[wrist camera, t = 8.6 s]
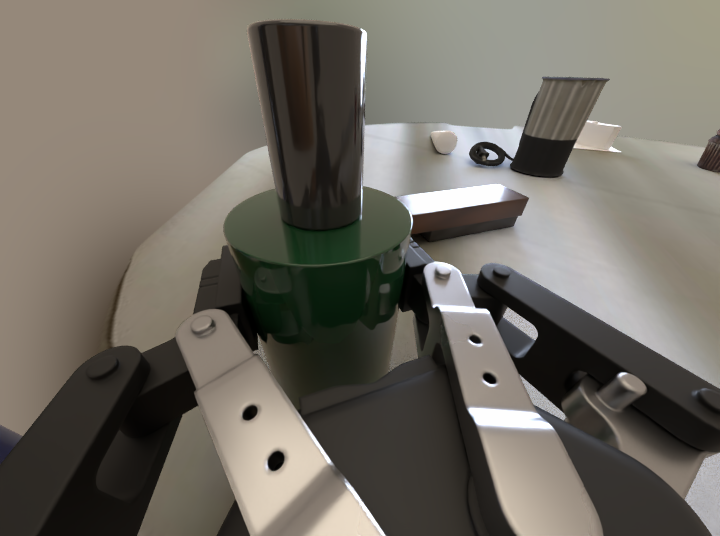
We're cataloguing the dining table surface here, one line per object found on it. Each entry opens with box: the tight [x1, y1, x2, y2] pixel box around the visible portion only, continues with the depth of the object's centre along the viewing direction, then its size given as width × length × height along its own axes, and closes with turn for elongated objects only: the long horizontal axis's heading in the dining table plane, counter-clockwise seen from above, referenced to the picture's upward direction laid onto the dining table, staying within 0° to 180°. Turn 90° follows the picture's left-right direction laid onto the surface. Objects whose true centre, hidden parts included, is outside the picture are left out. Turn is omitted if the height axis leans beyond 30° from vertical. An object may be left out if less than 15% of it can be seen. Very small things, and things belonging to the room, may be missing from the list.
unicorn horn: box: [431, 131, 457, 154], centre depth 67 cm, size 5×24×5 cm, turn 171°
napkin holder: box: [573, 121, 622, 152], centre depth 70 cm, size 15×11×6 cm
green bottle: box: [223, 19, 413, 410], centre depth 9 cm, size 5×5×14 cm
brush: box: [395, 184, 529, 242], centre depth 29 cm, size 18×5×4 cm, turn 110°
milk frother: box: [469, 77, 610, 177], centre depth 47 cm, size 14×16×15 cm
